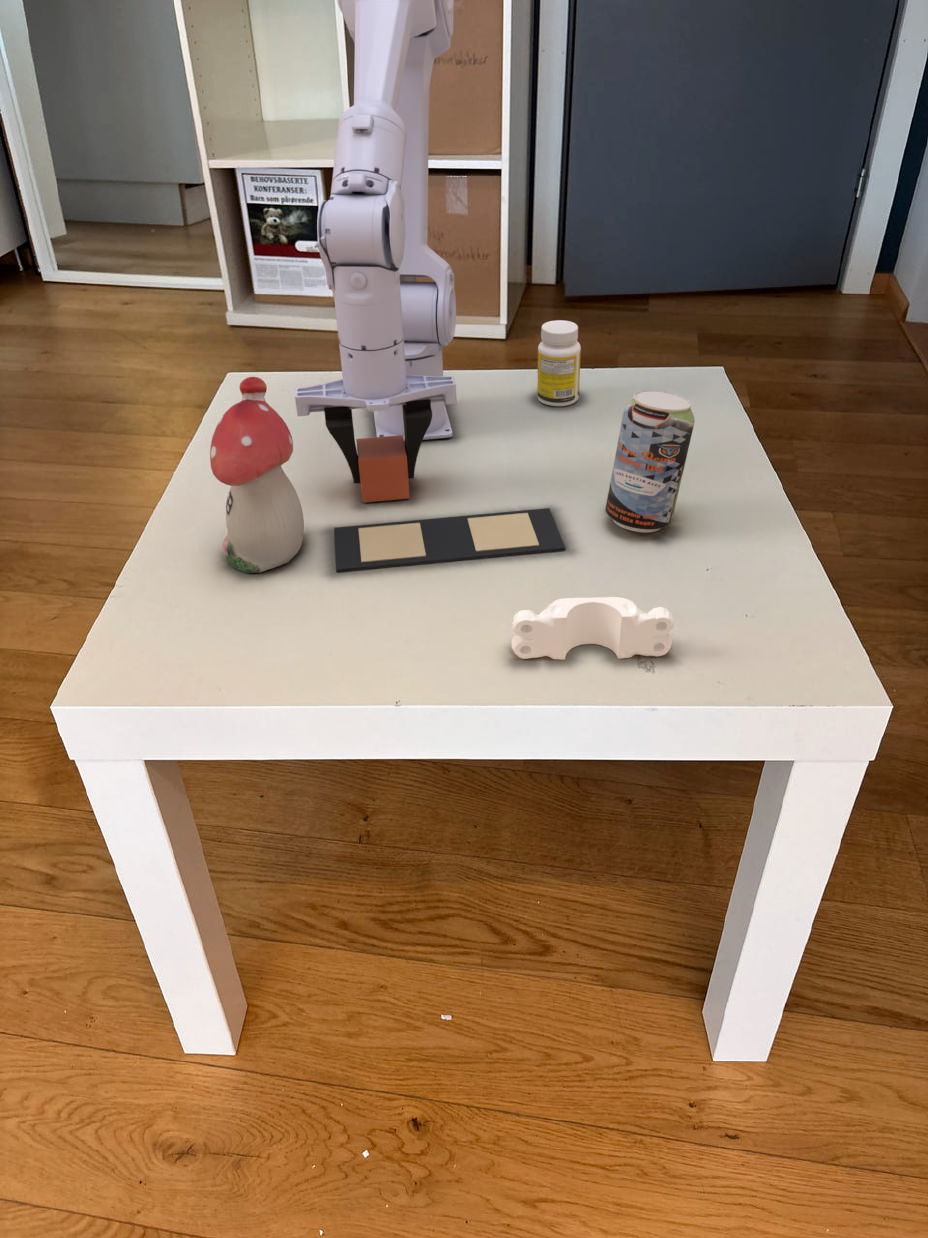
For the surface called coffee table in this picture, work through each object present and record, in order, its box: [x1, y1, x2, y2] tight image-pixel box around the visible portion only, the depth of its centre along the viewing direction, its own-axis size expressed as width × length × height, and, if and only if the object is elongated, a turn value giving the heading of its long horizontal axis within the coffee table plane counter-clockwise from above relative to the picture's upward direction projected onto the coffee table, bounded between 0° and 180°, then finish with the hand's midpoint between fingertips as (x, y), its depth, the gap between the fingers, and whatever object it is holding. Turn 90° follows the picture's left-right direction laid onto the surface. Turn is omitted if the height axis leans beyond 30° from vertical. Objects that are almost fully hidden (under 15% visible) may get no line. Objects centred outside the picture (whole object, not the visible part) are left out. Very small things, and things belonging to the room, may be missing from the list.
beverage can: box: [605, 389, 696, 533], centre depth 86 cm, size 6×7×12 cm
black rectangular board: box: [333, 507, 566, 573], centre depth 87 cm, size 7×20×1 cm, turn 98°
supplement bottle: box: [537, 319, 582, 407], centre depth 109 cm, size 5×5×8 cm
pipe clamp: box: [510, 596, 675, 661], centre depth 73 cm, size 12×2×4 cm, turn 90°
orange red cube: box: [355, 435, 411, 503], centre depth 94 cm, size 4×4×4 cm
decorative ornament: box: [209, 376, 305, 574], centre depth 82 cm, size 9×7×15 cm
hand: (383, 476), depth 94 cm, fingers closed on orange red cube, 4 cm apart
